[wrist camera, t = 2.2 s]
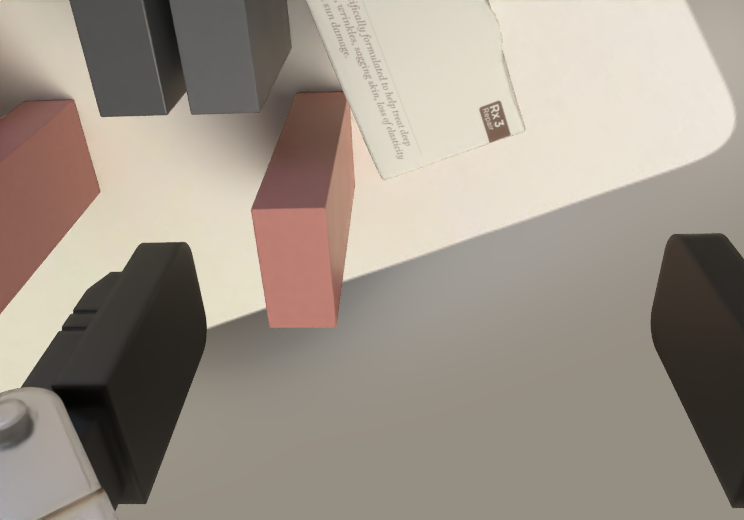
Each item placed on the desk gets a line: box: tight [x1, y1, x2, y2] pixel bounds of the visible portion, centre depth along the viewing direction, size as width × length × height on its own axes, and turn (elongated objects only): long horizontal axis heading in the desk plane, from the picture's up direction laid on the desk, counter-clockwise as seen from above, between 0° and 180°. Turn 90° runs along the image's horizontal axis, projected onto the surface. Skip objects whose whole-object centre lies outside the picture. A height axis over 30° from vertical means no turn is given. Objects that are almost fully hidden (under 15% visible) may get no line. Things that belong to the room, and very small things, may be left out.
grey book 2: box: [169, 0, 292, 115], centre depth 32 cm, size 7×3×10 cm, turn 3°
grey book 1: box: [70, 0, 187, 117], centre depth 32 cm, size 7×3×10 cm, turn 3°
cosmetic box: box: [306, 0, 525, 180], centre depth 29 cm, size 8×6×15 cm
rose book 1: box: [0, 100, 100, 314], centre depth 35 cm, size 6×3×14 cm, turn 2°
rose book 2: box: [251, 92, 355, 328], centre depth 35 cm, size 6×3×14 cm, turn 3°
